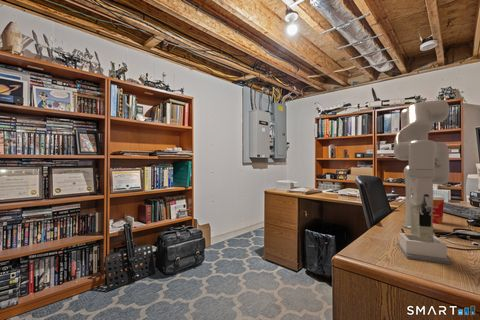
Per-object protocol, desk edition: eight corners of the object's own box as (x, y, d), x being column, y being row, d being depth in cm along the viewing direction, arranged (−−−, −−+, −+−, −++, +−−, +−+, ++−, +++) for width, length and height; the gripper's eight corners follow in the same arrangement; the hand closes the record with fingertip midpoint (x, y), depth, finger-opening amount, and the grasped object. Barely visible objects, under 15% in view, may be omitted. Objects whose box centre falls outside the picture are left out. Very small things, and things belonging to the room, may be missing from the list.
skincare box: (433, 239, 81) (433, 204, 81) (419, 238, 82) (419, 203, 82) (422, 233, 87) (422, 201, 87) (409, 233, 88) (409, 200, 88)
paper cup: (422, 220, 129) (422, 195, 129) (435, 220, 130) (435, 195, 130) (435, 224, 121) (435, 197, 121) (449, 224, 122) (449, 197, 122)
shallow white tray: (397, 244, 93) (397, 230, 93) (434, 248, 89) (434, 234, 89) (407, 258, 80) (407, 242, 80) (451, 264, 76) (451, 247, 76)
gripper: (402, 172, 94) (402, 217, 94) (416, 175, 78) (416, 228, 78) (425, 173, 91) (425, 218, 91) (444, 176, 75) (444, 231, 75)
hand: (421, 223), depth 84 cm, fingers closed on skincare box, 6 cm apart
